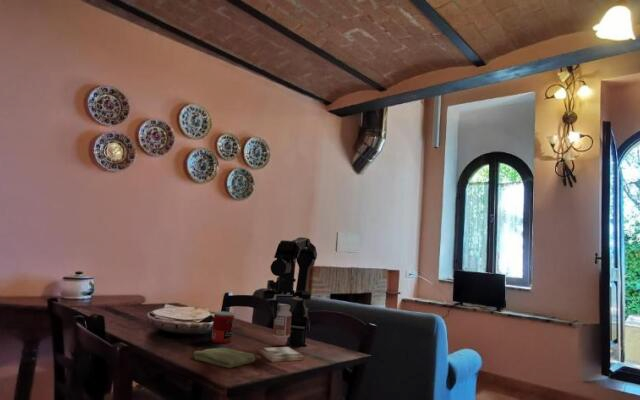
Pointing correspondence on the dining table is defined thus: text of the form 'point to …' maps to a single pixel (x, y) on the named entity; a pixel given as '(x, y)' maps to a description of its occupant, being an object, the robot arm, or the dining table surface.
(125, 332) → the dining table surface
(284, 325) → the pill bottle
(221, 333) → the canned food
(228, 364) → the washcloth
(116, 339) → the dining table surface
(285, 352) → the stand
